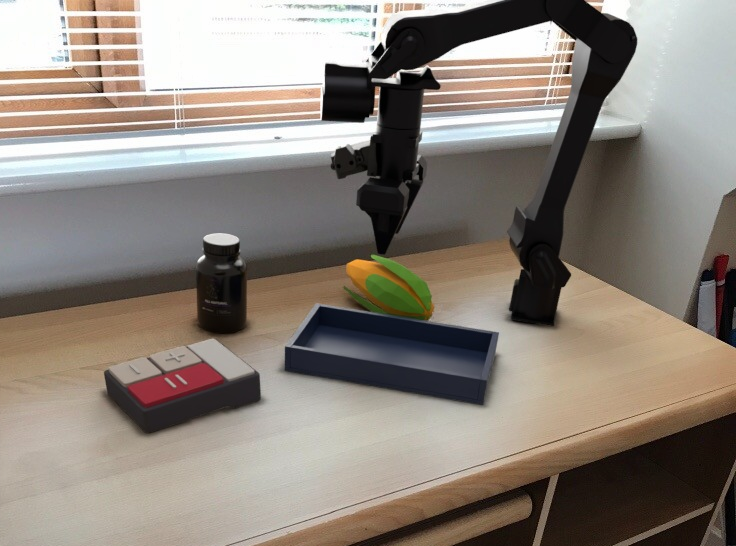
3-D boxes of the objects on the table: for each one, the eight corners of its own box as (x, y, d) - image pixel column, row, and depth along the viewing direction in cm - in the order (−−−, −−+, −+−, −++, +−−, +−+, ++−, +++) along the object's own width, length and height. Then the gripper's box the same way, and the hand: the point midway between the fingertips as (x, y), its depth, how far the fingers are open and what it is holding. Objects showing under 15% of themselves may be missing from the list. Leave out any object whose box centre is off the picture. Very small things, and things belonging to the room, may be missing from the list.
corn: (409, 288, 113) (328, 240, 126) (400, 341, 117) (323, 289, 130) (451, 283, 117) (369, 237, 130) (441, 335, 121) (362, 285, 134)
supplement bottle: (207, 337, 115) (204, 250, 107) (191, 317, 119) (186, 232, 112) (254, 330, 117) (254, 244, 110) (236, 311, 122) (235, 228, 115)
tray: (495, 355, 116) (499, 332, 114) (482, 405, 104) (487, 380, 102) (315, 325, 120) (316, 303, 118) (284, 370, 108) (284, 346, 106)
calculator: (101, 364, 99) (214, 332, 106) (106, 396, 101) (217, 363, 108) (142, 405, 92) (261, 367, 99) (147, 439, 94) (262, 399, 102)
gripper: (355, 103, 119) (348, 216, 128) (320, 132, 104) (315, 257, 113) (433, 113, 117) (421, 226, 126) (408, 143, 102) (396, 269, 112)
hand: (388, 243), depth 119 cm, fingers open, 9 cm apart
